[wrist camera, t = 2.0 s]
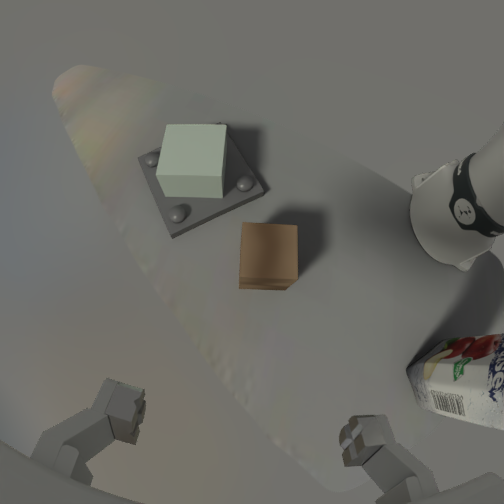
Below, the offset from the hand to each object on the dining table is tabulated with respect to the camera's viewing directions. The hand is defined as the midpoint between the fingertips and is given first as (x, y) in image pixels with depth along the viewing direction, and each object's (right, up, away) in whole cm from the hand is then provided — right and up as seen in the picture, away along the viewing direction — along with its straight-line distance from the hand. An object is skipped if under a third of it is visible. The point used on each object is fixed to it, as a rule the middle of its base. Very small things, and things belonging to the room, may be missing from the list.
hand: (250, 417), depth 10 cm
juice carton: (+27, -12, +26) cm, 40 cm away
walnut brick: (+1, +4, +29) cm, 30 cm away
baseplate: (-8, +17, +32) cm, 37 cm away
